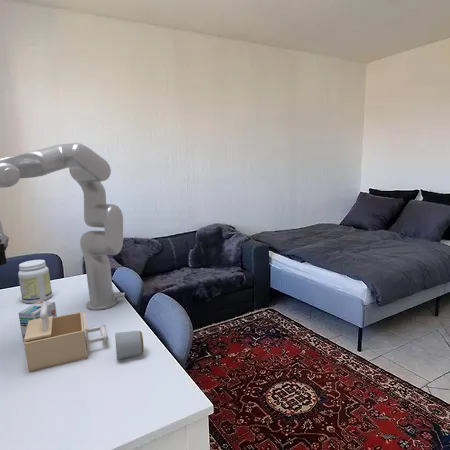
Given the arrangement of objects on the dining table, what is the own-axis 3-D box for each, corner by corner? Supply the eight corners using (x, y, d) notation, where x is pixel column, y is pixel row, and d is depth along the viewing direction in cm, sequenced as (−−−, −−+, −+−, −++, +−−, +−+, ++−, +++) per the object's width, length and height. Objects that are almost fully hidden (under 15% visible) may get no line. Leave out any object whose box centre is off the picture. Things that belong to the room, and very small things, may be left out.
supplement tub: (44, 292, 171) (39, 257, 168) (57, 296, 164) (52, 261, 160) (17, 300, 161) (11, 264, 158) (30, 306, 154) (24, 268, 151)
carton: (105, 331, 127) (102, 307, 126) (110, 352, 113) (107, 325, 111) (33, 347, 119) (29, 321, 117) (28, 372, 104) (23, 343, 102)
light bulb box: (39, 343, 121) (34, 313, 119) (22, 342, 123) (17, 312, 121) (59, 328, 131) (55, 300, 129) (43, 327, 133) (39, 300, 131)
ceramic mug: (145, 357, 109) (143, 334, 108) (117, 364, 106) (114, 339, 105) (141, 342, 119) (138, 320, 118) (115, 347, 116) (112, 325, 115)
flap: (24, 341, 103) (20, 320, 102) (29, 322, 116) (26, 303, 115) (51, 335, 106) (48, 315, 105) (52, 317, 119) (50, 299, 118)
